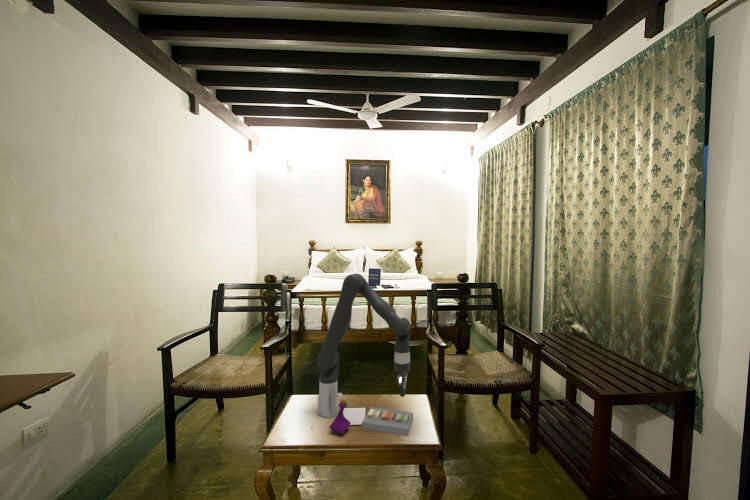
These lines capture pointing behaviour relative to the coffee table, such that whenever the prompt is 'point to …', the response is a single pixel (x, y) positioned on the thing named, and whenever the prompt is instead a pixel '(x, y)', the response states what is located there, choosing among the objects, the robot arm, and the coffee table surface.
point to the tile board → (388, 423)
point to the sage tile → (402, 418)
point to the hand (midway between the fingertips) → (402, 395)
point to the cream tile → (374, 414)
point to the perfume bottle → (340, 419)
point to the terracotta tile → (388, 416)
